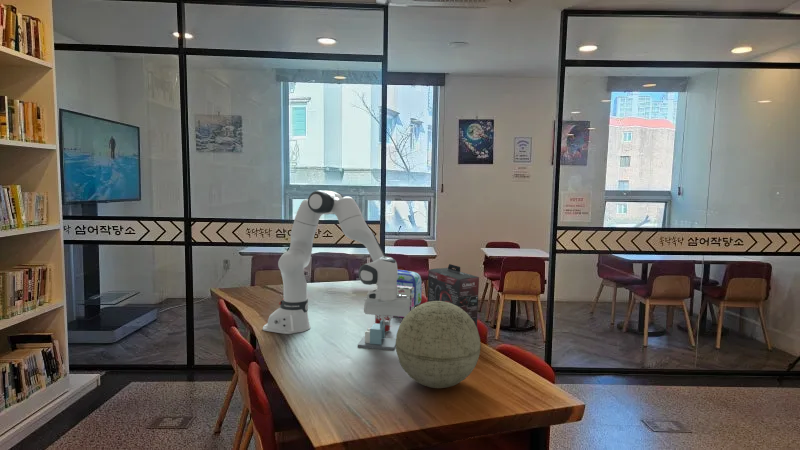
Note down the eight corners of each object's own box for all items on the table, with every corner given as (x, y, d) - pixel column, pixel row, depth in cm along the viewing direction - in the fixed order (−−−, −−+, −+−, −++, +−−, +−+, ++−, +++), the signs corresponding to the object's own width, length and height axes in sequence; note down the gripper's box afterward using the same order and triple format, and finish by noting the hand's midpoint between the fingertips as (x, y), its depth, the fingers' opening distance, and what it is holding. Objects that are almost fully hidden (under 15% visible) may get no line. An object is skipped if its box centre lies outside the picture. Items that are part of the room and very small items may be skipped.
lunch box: (375, 303, 272) (376, 268, 270) (385, 299, 281) (386, 265, 280) (413, 310, 259) (414, 273, 257) (422, 306, 268) (423, 271, 266)
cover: (369, 343, 200) (370, 322, 199) (373, 337, 208) (374, 316, 207) (381, 344, 199) (381, 323, 198) (384, 338, 207) (385, 317, 207)
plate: (357, 347, 200) (357, 335, 199) (363, 338, 211) (363, 327, 210) (393, 350, 197) (393, 338, 197) (398, 341, 208) (398, 330, 208)
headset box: (478, 338, 213) (480, 268, 210) (457, 343, 207) (459, 271, 204) (445, 324, 234) (447, 260, 231) (425, 328, 227) (427, 262, 224)
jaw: (364, 342, 202) (365, 331, 202) (367, 338, 207) (367, 328, 207) (375, 343, 201) (376, 332, 201) (378, 339, 206) (378, 328, 206)
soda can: (388, 333, 219) (388, 308, 217) (373, 332, 220) (373, 307, 219) (391, 328, 226) (391, 304, 225) (377, 327, 227) (377, 303, 226)
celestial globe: (417, 411, 145) (419, 318, 142) (382, 374, 172) (383, 295, 170) (496, 395, 157) (499, 309, 154) (452, 362, 184) (454, 289, 182)
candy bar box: (414, 316, 247) (414, 286, 245) (410, 319, 242) (411, 288, 241) (395, 314, 251) (395, 284, 249) (391, 316, 246) (391, 286, 245)
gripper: (411, 293, 203) (411, 324, 204) (366, 291, 206) (366, 321, 207) (409, 297, 196) (408, 328, 198) (363, 294, 200) (362, 325, 201)
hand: (386, 324), depth 202 cm, fingers closed
